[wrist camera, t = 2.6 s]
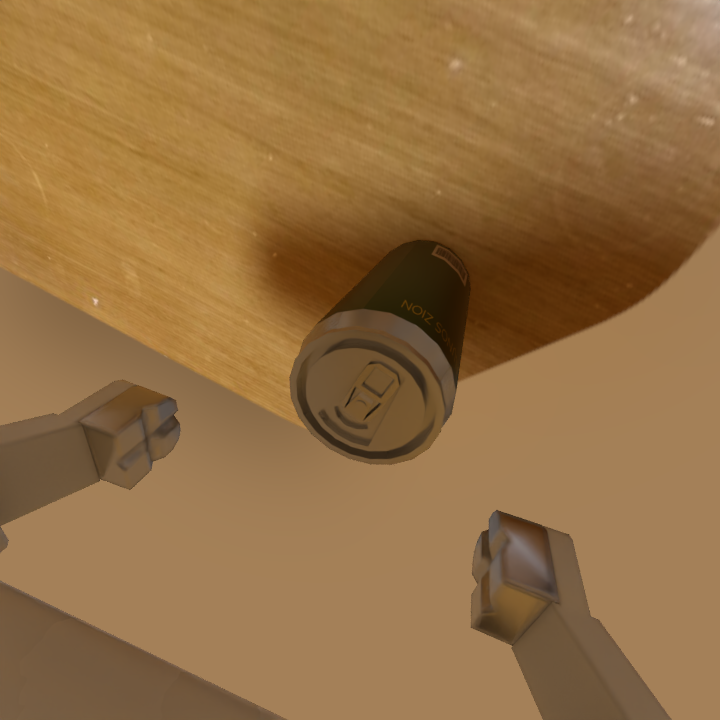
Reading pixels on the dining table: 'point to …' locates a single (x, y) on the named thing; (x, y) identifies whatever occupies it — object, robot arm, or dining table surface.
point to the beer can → (386, 358)
